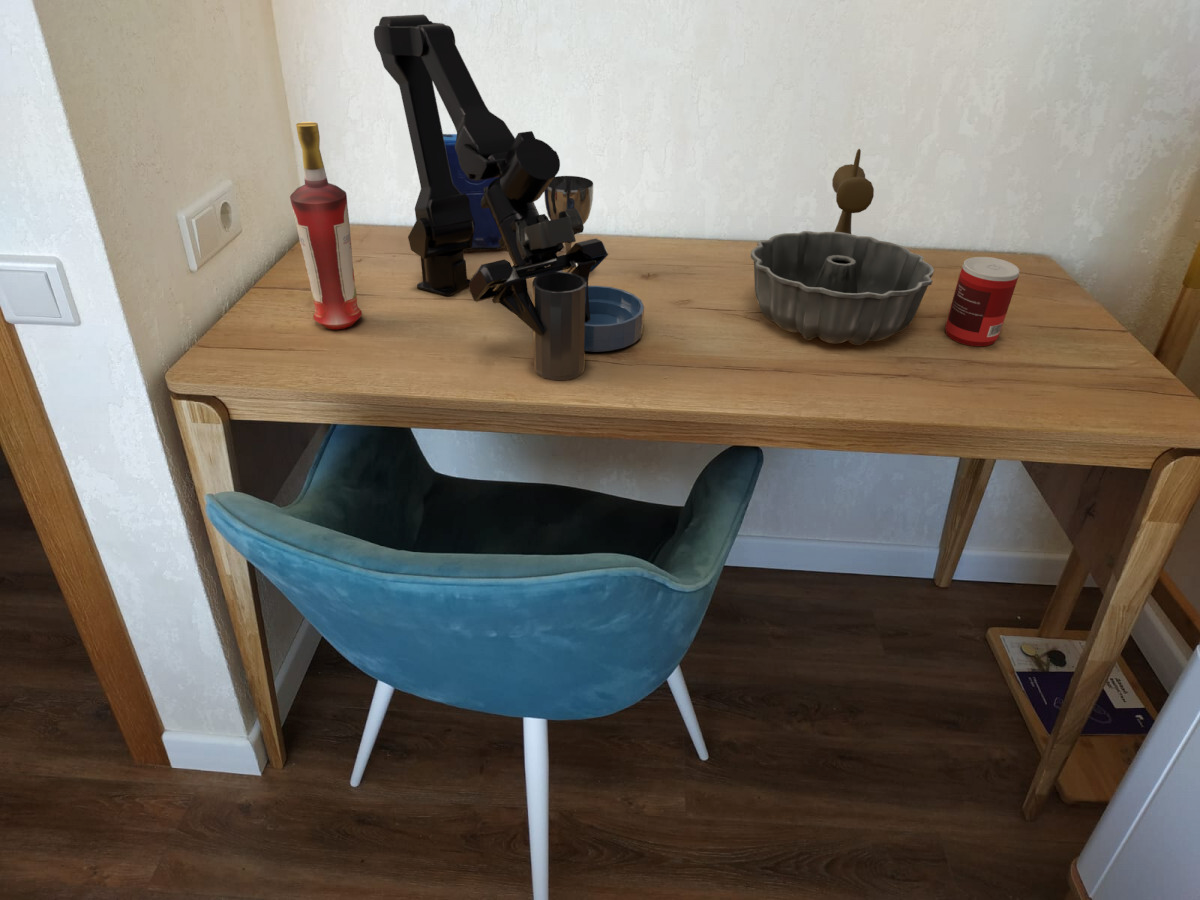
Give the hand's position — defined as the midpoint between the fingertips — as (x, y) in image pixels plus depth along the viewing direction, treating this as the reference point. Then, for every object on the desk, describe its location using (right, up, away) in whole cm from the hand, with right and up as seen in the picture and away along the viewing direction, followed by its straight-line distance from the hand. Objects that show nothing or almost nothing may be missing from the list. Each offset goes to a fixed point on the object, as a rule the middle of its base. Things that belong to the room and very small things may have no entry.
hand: (565, 327), depth 108 cm
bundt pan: (+40, +4, +20) cm, 45 cm away
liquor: (-34, +3, +14) cm, 37 cm away
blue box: (-19, +20, +41) cm, 49 cm away
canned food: (+60, +1, +17) cm, 63 cm away
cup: (-1, -5, +5) cm, 7 cm away
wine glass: (-1, +14, +33) cm, 36 cm away
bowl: (+4, +1, +14) cm, 14 cm away
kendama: (+47, +17, +39) cm, 63 cm away
